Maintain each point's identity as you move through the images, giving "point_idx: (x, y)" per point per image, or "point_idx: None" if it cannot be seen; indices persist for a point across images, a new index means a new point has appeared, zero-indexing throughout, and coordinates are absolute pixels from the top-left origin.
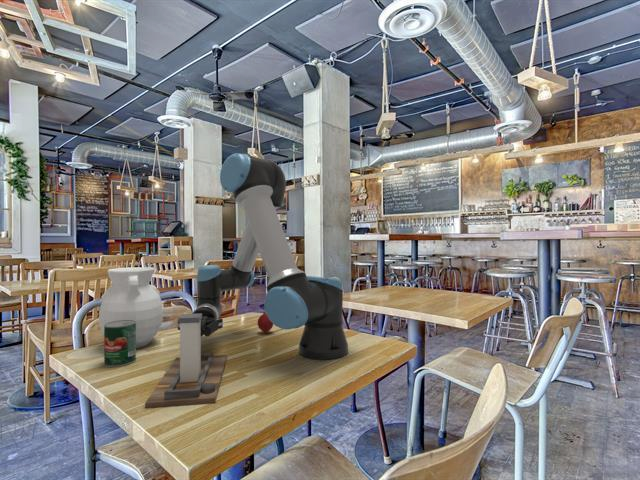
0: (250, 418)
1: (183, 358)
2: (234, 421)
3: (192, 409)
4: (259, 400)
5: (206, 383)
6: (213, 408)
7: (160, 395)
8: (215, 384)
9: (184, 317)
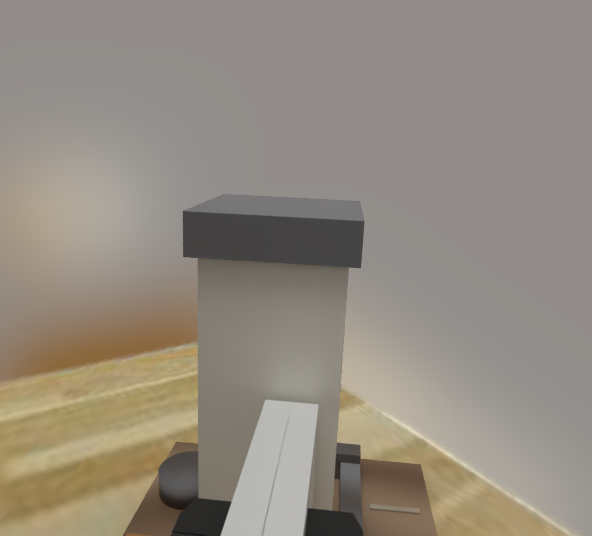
0: (110, 386)
1: None
2: (153, 385)
3: None
4: (29, 439)
5: (193, 483)
6: (189, 434)
7: (385, 498)
8: (142, 531)
9: (321, 200)
